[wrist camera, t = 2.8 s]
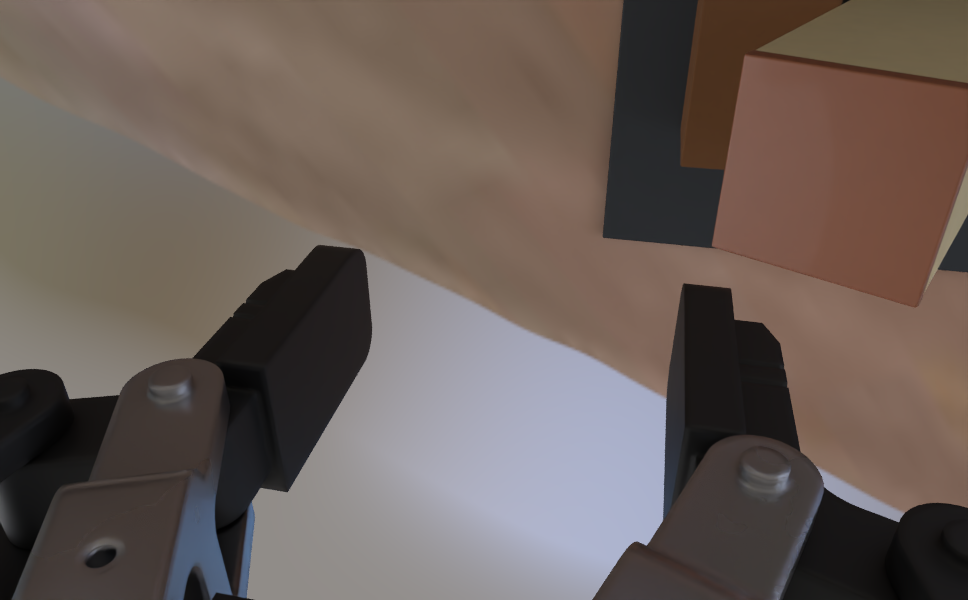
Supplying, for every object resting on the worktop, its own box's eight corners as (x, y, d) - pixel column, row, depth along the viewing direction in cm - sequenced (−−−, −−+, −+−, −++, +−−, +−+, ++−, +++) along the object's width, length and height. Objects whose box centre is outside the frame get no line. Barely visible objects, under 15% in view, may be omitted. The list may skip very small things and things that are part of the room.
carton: (704, 118, 29) (713, 286, 19) (725, -24, 27) (751, 78, 16) (979, 136, 28) (1164, 335, 17) (1031, -13, 25) (1291, 109, 14)
